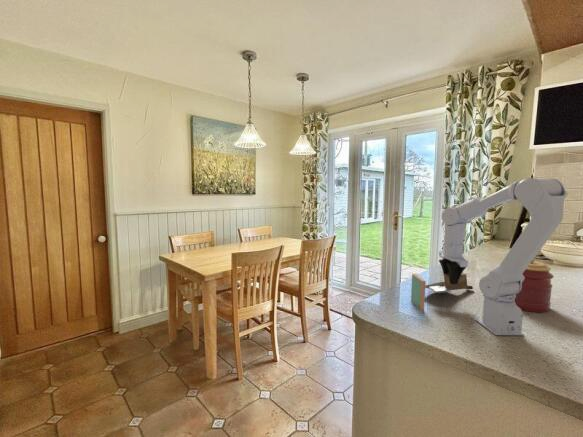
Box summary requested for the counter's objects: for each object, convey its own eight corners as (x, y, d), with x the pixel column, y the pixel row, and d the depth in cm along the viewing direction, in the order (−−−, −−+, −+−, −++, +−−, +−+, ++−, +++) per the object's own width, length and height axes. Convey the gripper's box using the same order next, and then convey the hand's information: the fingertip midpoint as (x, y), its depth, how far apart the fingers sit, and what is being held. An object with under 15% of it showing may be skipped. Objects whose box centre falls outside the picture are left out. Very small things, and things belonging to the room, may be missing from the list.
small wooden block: (469, 289, 96) (468, 274, 96) (436, 293, 97) (435, 278, 96) (460, 284, 101) (459, 271, 101) (429, 288, 102) (428, 274, 101)
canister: (531, 315, 93) (536, 261, 91) (493, 300, 105) (497, 252, 103) (559, 310, 96) (565, 259, 94) (520, 296, 108) (524, 250, 107)
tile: (424, 310, 96) (425, 281, 95) (420, 310, 96) (421, 281, 95) (414, 300, 104) (415, 273, 103) (410, 300, 104) (412, 273, 103)
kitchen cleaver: (453, 289, 121) (478, 285, 113) (454, 291, 120) (479, 287, 112) (417, 285, 108) (442, 281, 101) (418, 288, 108) (443, 284, 100)
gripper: (431, 239, 105) (429, 275, 106) (453, 247, 90) (450, 289, 92) (451, 239, 105) (448, 275, 106) (475, 247, 90) (472, 289, 92)
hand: (450, 281), depth 99 cm, fingers closed on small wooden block, 3 cm apart
